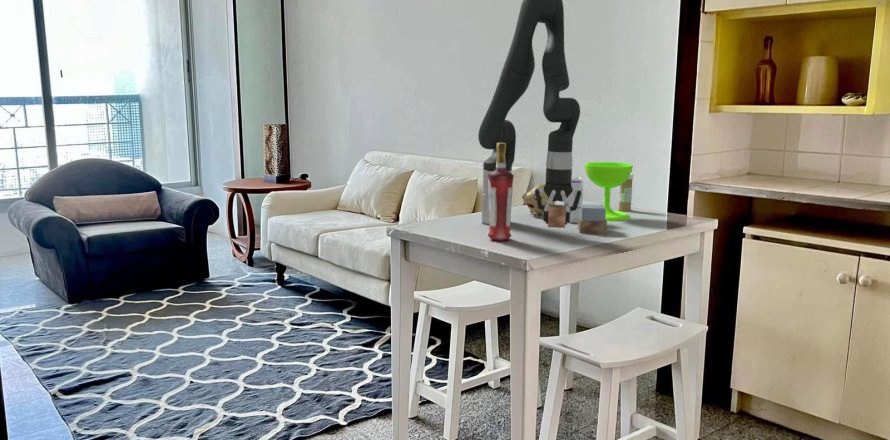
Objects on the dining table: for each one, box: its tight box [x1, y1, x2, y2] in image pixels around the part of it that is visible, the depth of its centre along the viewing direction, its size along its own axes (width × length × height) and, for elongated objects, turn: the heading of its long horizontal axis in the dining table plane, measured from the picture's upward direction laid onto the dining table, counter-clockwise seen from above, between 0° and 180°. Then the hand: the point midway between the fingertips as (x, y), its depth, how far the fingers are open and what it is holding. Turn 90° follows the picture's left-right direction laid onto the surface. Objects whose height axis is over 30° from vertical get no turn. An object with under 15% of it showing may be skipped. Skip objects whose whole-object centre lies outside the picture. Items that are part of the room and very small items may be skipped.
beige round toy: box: [521, 183, 557, 217], centre depth 253 cm, size 10×12×11 cm
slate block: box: [580, 203, 606, 221], centre depth 225 cm, size 7×7×4 cm
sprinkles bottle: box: [617, 173, 634, 212], centre depth 262 cm, size 5×5×14 cm
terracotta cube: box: [547, 203, 566, 229], centre depth 216 cm, size 5×5×6 cm
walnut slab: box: [577, 217, 608, 235], centre depth 226 cm, size 8×8×4 cm
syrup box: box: [567, 176, 584, 224], centre depth 241 cm, size 6×6×14 cm
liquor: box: [487, 143, 515, 242], centre depth 210 cm, size 7×7×28 cm
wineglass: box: [584, 161, 634, 222], centre depth 249 cm, size 16×16×18 cm
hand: (556, 223), depth 217 cm, fingers closed on terracotta cube, 5 cm apart
